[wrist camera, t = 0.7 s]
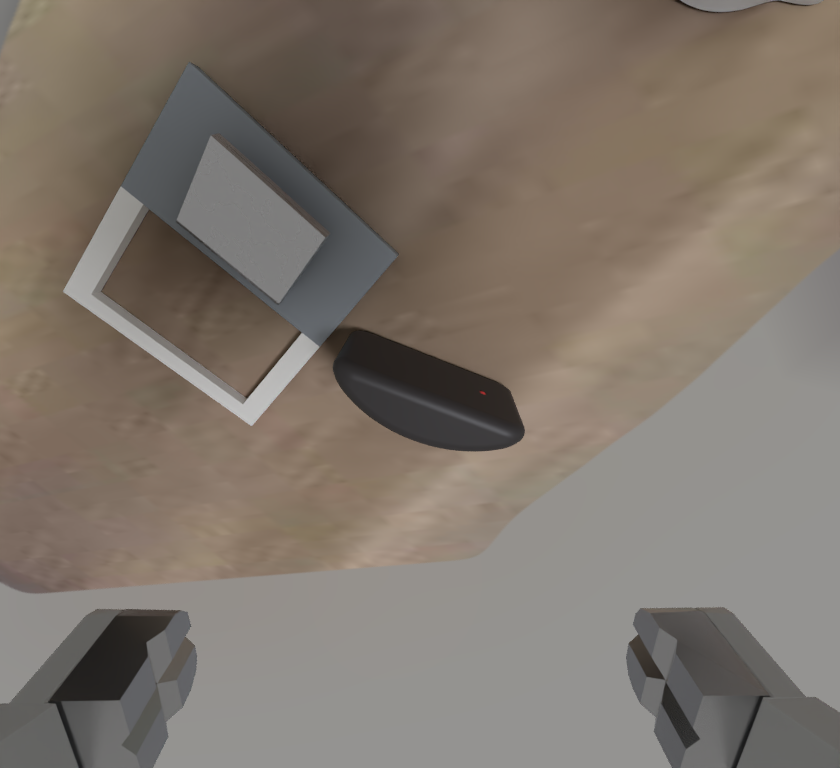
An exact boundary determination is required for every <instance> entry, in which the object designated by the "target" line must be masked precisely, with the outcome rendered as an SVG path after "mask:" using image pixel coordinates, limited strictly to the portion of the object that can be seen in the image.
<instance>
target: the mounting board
mask: <svg viewBox="0 0 840 768" xmlns="http://www.w3.org/2000/svg"><path fill="white" fill-rule="evenodd" d="M218 133H220V134H221V135H222V136H223V137H224V138H225V139H226V140H227V141H229V142H230V143H231V144H232V145H233V146H234V147H235V148H236V149H237V150H239V151H240V152H241V153H242V154H243V155H244V156H245V157H246V158H247V159H249V160H250V161H251V162H252V163H253V164H254V165H255V166H256V167H257V168H259V169H260V170H261V171H262V172H263V173H264V174H265V175H266V176H268V177H269V178H270V179H271V180H272V181H273V182H274V183H275V184H276V185H278V186H279V187H280V188H281V189H282V190H283V191H284V192H285V193H286V194H288V195H289V196H290V197H291V198H292V199H293V200H294V201H295V202H296V203H298V204H299V205H300V206H301V207H302V208H303V209H304V210H305V211H306V212H308V213H309V214H310V215H311V216H312V217H313V218H314V219H315V220H316V221H318V222H319V223H320V224H321V225H322V226H323V227H324V228H325V229H326V230H328V231H329V232H330V233H331V234H330V235H329V236H328V238H327V239H326V241H325V242H324V243H323V245H322V246H321V248H320V249H319V250H318V252H317V253H316V255H315V256H314V258H313V259H312V260H311V262H310V263H309V265H308V266H307V267H306V269H305V270H304V272H303V273H302V274H301V276H300V277H299V279H298V280H297V282H296V283H295V284H294V286H293V287H292V289H291V290H290V291H289V293H288V294H287V296H286V297H285V298H284V300H283V301H282V302H281V303H280V304H279V305H277V304H276V303H275V302H273V301H272V300H271V299H270V298H268V297H267V296H266V295H265V294H264V293H262V292H261V291H260V290H259V289H257V288H256V287H255V286H254V285H252V284H251V283H250V282H249V281H248V280H246V279H245V278H244V277H243V276H241V275H240V274H239V273H238V272H237V271H235V270H234V269H233V268H232V267H230V266H229V265H228V264H227V263H225V262H224V261H223V260H222V259H221V258H219V257H218V256H217V255H216V254H214V253H213V252H212V251H211V250H209V249H208V248H207V247H206V246H205V245H203V244H202V243H201V242H200V241H198V240H197V239H196V238H195V237H193V236H192V235H191V234H190V233H189V232H187V231H186V230H185V229H184V228H182V227H181V226H180V225H179V224H178V223H176V220H177V218H178V215H179V213H180V210H181V208H182V205H183V203H184V200H185V198H186V195H187V193H188V190H189V188H190V185H191V183H192V180H193V178H194V175H195V173H196V171H197V168H198V166H199V163H200V161H201V158H202V156H203V153H204V151H205V148H206V146H207V143H208V141H209V138H210V136H211V135H214V134H218ZM149 209H150V210H151V211H152V212H153V213H155V214H156V215H157V216H158V217H160V218H161V219H162V220H163V221H164V222H166V223H167V224H168V225H169V226H171V227H172V228H173V229H174V230H176V231H177V232H178V233H179V234H181V235H182V236H183V237H184V238H186V239H187V240H188V241H189V242H190V243H192V244H193V245H194V246H195V247H197V248H198V249H199V250H200V251H202V252H203V253H204V254H205V255H207V256H208V257H209V258H210V259H212V260H213V261H214V262H215V263H216V264H218V265H219V266H220V267H221V268H223V269H224V270H225V271H226V272H228V273H229V274H230V275H231V276H233V277H234V278H235V279H236V280H238V281H239V282H240V283H241V284H242V285H244V286H245V287H246V288H247V289H249V290H250V291H251V292H252V293H254V294H255V295H256V296H257V297H259V298H260V299H261V300H262V301H264V302H265V303H266V304H267V305H268V306H270V307H271V308H272V309H273V310H275V311H276V312H277V313H278V314H280V315H281V316H282V317H283V318H285V319H286V320H287V321H288V322H290V323H291V324H292V325H293V326H294V327H296V328H297V329H298V330H299V331H301V332H302V333H301V335H300V336H299V337H298V338H297V340H296V341H295V342H294V343H293V344H292V346H291V347H290V348H289V349H288V350H287V352H286V353H285V354H284V355H283V356H282V358H281V359H280V360H279V361H278V362H277V364H276V365H275V366H274V367H273V369H272V370H271V371H270V372H269V373H268V375H267V376H266V377H265V378H264V379H263V381H262V382H261V383H260V384H259V385H258V387H257V388H256V389H255V390H254V392H253V393H252V394H251V395H250V396H249V398H248V399H247V398H246V397H244V396H243V395H242V394H240V393H239V392H238V391H236V390H235V389H233V388H232V387H231V386H229V385H228V384H227V383H225V382H224V381H222V380H221V379H220V378H218V377H217V376H216V375H214V374H213V373H212V372H210V371H209V370H207V369H206V368H205V367H203V366H202V365H201V364H199V363H198V362H196V361H195V360H194V359H192V358H191V357H190V356H188V355H187V354H185V353H184V352H183V351H181V350H180V349H179V348H177V347H176V346H175V345H173V344H172V343H170V342H169V341H168V340H166V339H165V338H164V337H162V336H161V335H159V334H158V333H157V332H155V331H154V330H153V329H151V328H150V327H149V326H147V325H146V324H144V323H143V322H142V321H140V320H139V319H138V318H136V317H135V316H133V315H132V314H131V313H129V312H128V311H127V310H125V309H124V308H122V307H121V306H120V305H118V304H117V303H116V302H114V301H113V300H112V299H110V298H109V297H107V296H106V295H105V294H103V293H102V292H101V290H102V289H103V287H104V285H105V284H106V282H107V280H108V278H109V277H110V275H111V273H112V272H113V270H114V268H115V267H116V265H117V263H118V261H119V260H120V258H121V256H122V255H123V253H124V251H125V250H126V248H127V246H128V244H129V243H130V241H131V239H132V238H133V236H134V234H135V232H136V231H137V229H138V227H139V226H140V224H141V222H142V221H143V219H144V217H145V215H146V214H147V212H148V210H149ZM398 255H399V254H398V253H397V252H396V251H395V250H394V249H393V248H392V247H391V246H390V245H389V244H388V243H387V242H386V241H384V240H383V239H382V238H381V237H380V236H379V235H378V234H377V233H376V232H375V231H374V230H373V229H372V228H371V227H369V226H368V225H367V224H366V223H365V222H364V221H363V220H362V219H361V218H360V217H359V216H358V215H357V214H356V213H354V212H353V211H352V210H351V209H350V208H349V207H348V206H347V205H346V204H345V203H344V202H343V201H342V200H340V199H339V198H338V197H337V196H336V195H335V194H334V193H333V192H332V191H331V190H330V189H329V188H328V187H327V186H325V185H324V184H323V183H322V182H321V181H320V180H319V179H318V178H317V177H316V176H315V175H314V174H313V173H312V172H310V171H309V170H308V169H307V168H306V167H305V166H304V165H303V164H302V163H301V162H300V161H299V160H298V159H297V158H295V157H294V156H293V155H292V154H291V153H290V152H289V151H288V150H287V149H286V148H285V147H284V146H283V145H281V144H280V143H279V142H278V141H277V140H276V139H275V138H274V137H273V136H272V135H271V134H270V133H269V132H268V131H266V130H265V129H264V128H263V127H262V126H261V125H260V124H259V123H258V122H257V121H256V120H255V119H254V118H253V117H251V116H250V115H249V114H248V113H247V112H246V111H245V110H244V109H243V108H242V107H241V106H240V105H239V104H237V103H236V102H235V101H234V100H233V99H232V98H231V97H230V96H229V95H228V94H227V93H226V92H225V91H224V90H222V89H221V88H220V87H219V86H218V85H217V84H216V83H215V82H214V81H213V80H212V79H211V78H210V77H209V76H207V75H206V74H205V73H204V72H203V71H202V70H201V69H200V68H199V67H198V66H196V65H194V64H192V63H191V62H189V63H188V65H187V66H186V68H185V70H184V72H183V74H182V76H181V77H180V79H179V81H178V83H177V85H176V86H175V88H174V90H173V92H172V94H171V96H170V97H169V99H168V101H167V103H166V105H165V107H164V108H163V110H162V112H161V114H160V116H159V117H158V119H157V121H156V123H155V125H154V127H153V128H152V130H151V132H150V134H149V136H148V138H147V139H146V141H145V143H144V145H143V147H142V148H141V150H140V152H139V154H138V156H137V158H136V159H135V161H134V163H133V165H132V167H131V169H130V170H129V172H128V174H127V176H126V178H125V179H124V181H123V183H122V185H121V187H120V189H119V190H118V192H117V194H116V196H115V198H114V199H113V201H112V203H111V205H110V207H109V209H108V210H107V212H106V214H105V216H104V218H103V220H102V221H101V223H100V225H99V227H98V229H97V230H96V232H95V234H94V236H93V238H92V240H91V241H90V243H89V245H88V247H87V249H86V251H85V252H84V254H83V256H82V258H81V260H80V261H79V263H78V265H77V267H76V269H75V271H74V272H73V274H72V276H71V278H70V280H69V282H68V283H67V285H66V287H65V289H64V291H63V292H64V293H66V294H67V295H68V296H70V297H71V298H73V299H74V300H75V301H77V302H78V303H80V304H81V305H82V306H84V307H85V308H87V309H88V310H89V311H91V312H92V313H94V314H95V315H96V316H98V317H99V318H101V319H102V320H103V321H105V322H106V323H108V324H109V325H110V326H112V327H113V328H115V329H116V330H117V331H119V332H120V333H122V334H123V335H124V336H126V337H127V338H129V339H130V340H131V341H133V342H134V343H136V344H137V345H139V346H140V347H141V348H143V349H144V350H146V351H147V352H148V353H150V354H151V355H153V356H154V357H155V358H157V359H158V360H160V361H161V362H162V363H164V364H165V365H167V366H168V367H169V368H171V369H172V370H174V371H175V372H176V373H178V374H179V375H181V376H182V377H183V378H185V379H186V380H188V381H189V382H190V383H192V384H193V385H195V386H196V387H197V388H199V389H200V390H202V391H203V392H204V393H206V394H207V395H209V396H210V397H211V398H213V399H214V400H216V401H217V402H218V403H220V404H221V405H223V406H224V407H225V408H227V409H228V410H230V411H231V412H232V413H234V414H235V415H237V416H238V417H240V418H241V419H242V420H244V421H245V422H247V423H248V424H249V425H251V426H252V425H253V424H254V423H255V422H256V420H257V419H258V418H259V417H260V416H261V415H262V413H263V412H264V411H265V410H266V409H267V408H268V407H269V405H270V404H271V403H272V402H273V401H274V400H275V398H276V397H277V396H278V395H279V394H280V393H281V391H282V390H283V389H284V388H285V387H286V386H287V384H288V383H289V382H290V381H291V380H292V379H293V377H294V376H295V375H296V374H297V373H298V372H299V370H300V369H301V368H302V367H303V366H304V365H305V363H306V362H307V361H308V360H309V359H310V358H311V356H312V355H313V354H314V353H315V352H316V351H317V349H318V348H319V347H320V346H321V345H322V344H323V342H324V341H325V340H326V339H327V338H328V337H329V335H330V334H331V333H332V332H333V331H334V330H335V328H336V327H337V326H338V325H339V324H340V323H341V321H342V320H343V319H344V318H345V317H346V316H347V315H348V313H349V312H350V311H351V310H352V309H353V308H354V306H355V305H356V304H357V303H358V302H359V301H360V299H361V298H362V297H363V296H364V295H365V294H366V292H367V291H368V290H369V289H370V288H371V287H372V285H373V284H374V283H375V282H376V281H377V280H378V278H379V277H380V276H381V275H382V274H383V273H384V271H385V270H386V269H387V268H388V267H389V266H390V264H391V263H392V262H393V261H394V260H395V259H396V257H397V256H398Z"/></svg>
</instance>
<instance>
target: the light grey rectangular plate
mask: <svg viewBox="0 0 840 768" xmlns="http://www.w3.org/2000/svg"><path fill="white" fill-rule="evenodd" d="M176 223H178V224H179V225H180V226H181V227H182V228H184V229H185V230H186V231H187V232H189V233H190V234H191V235H192V236H193V237H195V238H196V239H197V240H198V241H200V242H201V243H202V244H203V245H205V246H206V247H207V248H208V249H209V250H211V251H212V252H213V253H214V254H216V255H217V256H218V257H219V258H221V259H222V260H223V261H224V262H225V263H227V264H228V265H229V266H230V267H232V268H233V269H234V270H235V271H237V272H238V273H239V274H240V275H241V276H243V277H244V278H245V279H246V280H248V281H249V282H250V283H251V284H252V285H254V286H255V287H256V288H257V289H259V290H260V291H261V292H262V293H264V294H265V295H266V296H267V297H268V298H270V299H271V300H272V301H273V302H275V303H276V304H277V305H279V304H280V303H281V302H282V301H283V300H284V298H285V297H286V296H287V294H288V293H289V291H290V290H291V289H292V287H293V286H294V284H295V283H296V282H297V280H298V279H299V277H300V276H301V274H302V273H303V272H304V270H305V269H306V267H307V266H308V265H309V263H310V262H311V260H312V259H313V258H314V256H315V255H316V253H317V252H318V250H319V249H320V248H321V246H322V245H323V243H324V242H325V241H326V239H327V238H328V236H329V235H330V234H331V233H330V232H329V231H328V230H326V229H325V228H324V227H323V226H322V225H321V224H320V223H319V222H318V221H316V220H315V219H314V218H313V217H312V216H311V215H310V214H309V213H308V212H306V211H305V210H304V209H303V208H302V207H301V206H300V205H299V204H298V203H296V202H295V201H294V200H293V199H292V198H291V197H290V196H289V195H288V194H286V193H285V192H284V191H283V190H282V189H281V188H280V187H279V186H278V185H276V184H275V183H274V182H273V181H272V180H271V179H270V178H269V177H268V176H266V175H265V174H264V173H263V172H262V171H261V170H260V169H259V168H257V167H256V166H255V165H254V164H253V163H252V162H251V161H250V160H249V159H247V158H246V157H245V156H244V155H243V154H242V153H241V152H240V151H239V150H237V149H236V148H235V147H234V146H233V145H232V144H231V143H230V142H229V141H227V140H226V139H225V138H224V137H223V136H222V135H221V134H220V133H218V134H214V135H211V136H210V138H209V141H208V143H207V146H206V148H205V151H204V153H203V156H202V158H201V161H200V163H199V166H198V168H197V171H196V173H195V175H194V178H193V180H192V183H191V185H190V188H189V190H188V193H187V195H186V198H185V200H184V203H183V205H182V208H181V210H180V213H179V215H178V218H177V220H176Z"/></svg>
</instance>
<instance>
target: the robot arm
mask: <svg viewBox="0 0 840 768" xmlns="http://www.w3.org/2000/svg"><path fill="white" fill-rule="evenodd" d="M680 1H682V2H684V3H686V4H688V5H690V6H692V7H695V8H698V9H701V10H706V11H712V12H730V11H737V10H742V9H746V8H749V7H753V6H756V5H759V4H763V3H766V2H770V1H777V0H680ZM781 1H785V2H790V3H795V4H802V5H813V4H817V3H820V2H822V1H823V0H781ZM633 625H634V627H635V629H636V631H637V632H638V635H637V636H636V637H635V638H634V639H633V640H632V641H631V642H629V644H628V650H627V656H626V659H627V668H628V675H629V678H630V681H631V684H632V687H633V690H634V692H635V694H636V696H637V698H638V700H639V702H640V704H641V705H642V706H644V707H645V708H646V709H647V710H648V711H649V712H650V713H652V714H653V715H654V716H655V717H656V720H655V728H654V733H655V734H656V737H657V739H658V741H659V743H660V745H661V746H662V748H663V751H664V753H665V755H666V757H667V759H668V761H669V763H670V764H671V766H672V768H840V712H838V711H837V710H835V709H833V708H832V707H830V706H829V705H827V704H826V703H824V702H822V701H821V700H819V699H818V698H816V697H806V696H805V695H804V694H803V693H802V692H801V691H800V689H799V688H798V687H797V686H796V685H795V684H794V683H793V682H792V680H791V679H790V678H789V677H788V676H787V675H786V673H785V672H784V671H783V670H782V669H781V668H780V667H779V665H778V664H777V663H776V662H775V661H774V660H773V658H772V657H771V656H770V655H769V654H768V653H767V652H766V650H765V649H764V648H763V647H762V646H761V645H760V644H759V642H758V641H757V640H756V639H755V638H754V637H753V636H752V634H751V633H750V632H749V631H748V630H747V629H746V627H744V625H743V624H742V623H741V622H740V621H739V619H738V618H737V617H736V616H735V615H734V614H733V613H732V612H730V611H729V610H727V609H725V608H723V607H718V608H717V607H716V608H641V609H640V610H639V611H638V612H637V613H636V615H635V619H634V622H633ZM190 627H191V624H190V620H189V616H188V612H185V611H180V610H177V611H176V610H139V609H125V610H119V609H118V610H117V609H97V610H95V611H93V612H91V613H90V614H88V615H86V616H85V617H84V618H83V620H82V621H81V622H80V623H79V624H78V625H77V626H76V627H75V629H74V630H73V631H72V632H71V633H70V634H69V635H68V637H67V638H66V639H65V640H64V641H63V642H62V643H61V645H60V646H59V647H58V648H57V649H56V650H55V651H54V653H53V654H52V655H51V656H50V657H49V658H48V659H47V661H46V662H45V663H44V664H43V665H42V666H41V667H40V669H39V670H38V671H37V672H36V673H35V674H34V676H33V677H32V678H31V679H30V680H29V681H28V682H27V684H26V685H25V686H24V687H23V688H22V689H21V690H20V691H19V693H18V694H17V695H16V696H15V697H14V698H13V699H12V701H11V702H10V703H9V704H0V768H153V766H154V764H155V762H156V760H157V758H158V756H159V754H160V752H161V750H162V748H163V746H164V744H165V742H166V740H167V738H168V732H167V725H166V721H168V720H169V719H170V718H171V717H172V716H173V715H174V714H176V713H177V712H178V711H179V710H180V709H181V708H182V707H183V705H184V703H185V701H186V699H187V697H188V695H189V692H190V691H191V687H192V684H193V680H194V676H195V672H196V664H197V654H196V648H195V645H194V644H193V643H192V642H191V641H190V640H188V639H187V638H186V637H185V636H186V634H187V633H188V631H189V629H190Z"/></svg>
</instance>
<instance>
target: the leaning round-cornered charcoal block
mask: <svg viewBox="0 0 840 768" xmlns="http://www.w3.org/2000/svg"><path fill="white" fill-rule="evenodd" d="M333 372H334V375H335V378H336V380H337V382H338V384H339V386H340V387H341V389H342V390H343V391H344V393H345V394H346V395H347V396H348V397H349V398H350V399H351V400H352V402H353V403H354V404H355V405H357V406H358V407H359V408H360V409H361V410H362V411H363V412H364V413H366V414H367V415H368V416H369V417H371V418H372V419H374V420H375V421H377V422H378V423H379V424H381V425H383V426H384V427H386V428H388V429H390V430H391V431H393V432H395V433H397V434H399V435H402V436H404V437H406V438H408V439H411V440H414V441H417V442H419V443H423V444H426V445H429V446H434V447H438V448H443V449H449V450H457V451H490V450H498V449H503V448H507V447H510V446H512V445H514V444H516V443H517V442H519V441H520V440H521V439H522V438H523V436H524V433H525V429H524V426H523V423H522V420H521V418H520V415H519V413H518V410H517V408H516V405H515V402H514V400H513V397H512V395H511V392H510V391H509V389H507V388H506V387H504V386H503V385H501V384H499V383H497V382H495V381H492V380H489V379H487V378H484V377H482V376H479V375H477V374H474V373H471V372H469V371H466V370H464V369H461V368H459V367H456V366H454V365H451V364H448V363H446V362H443V361H441V360H438V359H436V358H433V357H430V356H428V355H425V354H423V353H420V352H418V351H415V350H413V349H410V348H407V347H405V346H402V345H400V344H397V343H395V342H392V341H390V340H387V339H384V338H382V337H379V336H377V335H374V334H372V333H368V332H365V331H354V332H352V333H351V334H350V336H349V337H348V339H347V341H346V342H345V344H344V346H343V347H342V349H341V351H340V353H339V354H338V356H337V358H336V359H335V361H334V363H333Z"/></svg>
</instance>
